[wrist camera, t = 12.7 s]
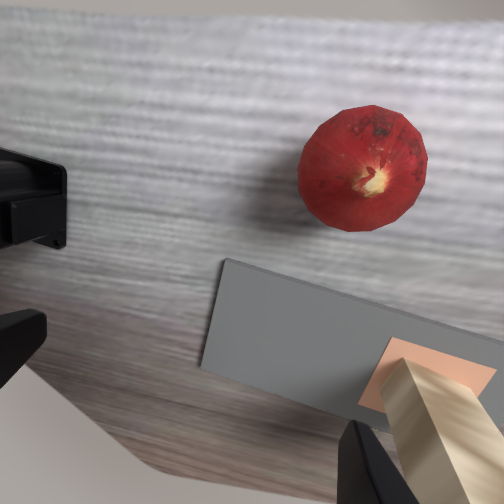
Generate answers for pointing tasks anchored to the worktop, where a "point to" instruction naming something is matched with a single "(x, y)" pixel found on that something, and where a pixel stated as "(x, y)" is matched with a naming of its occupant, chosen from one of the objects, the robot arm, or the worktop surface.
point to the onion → (362, 169)
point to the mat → (336, 346)
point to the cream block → (443, 438)
